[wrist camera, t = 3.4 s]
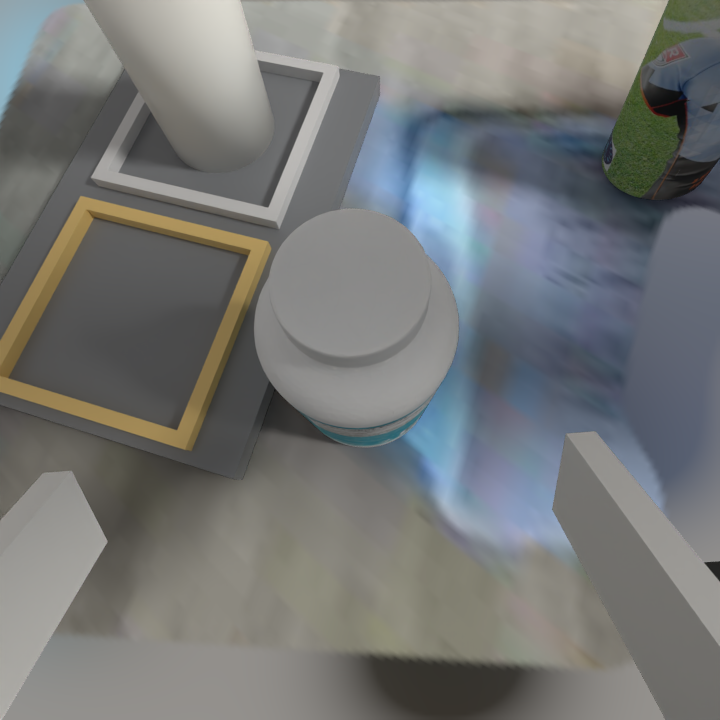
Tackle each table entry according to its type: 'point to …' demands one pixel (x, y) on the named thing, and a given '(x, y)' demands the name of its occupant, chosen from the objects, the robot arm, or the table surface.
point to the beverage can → (671, 108)
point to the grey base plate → (171, 270)
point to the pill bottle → (356, 326)
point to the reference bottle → (194, 76)
